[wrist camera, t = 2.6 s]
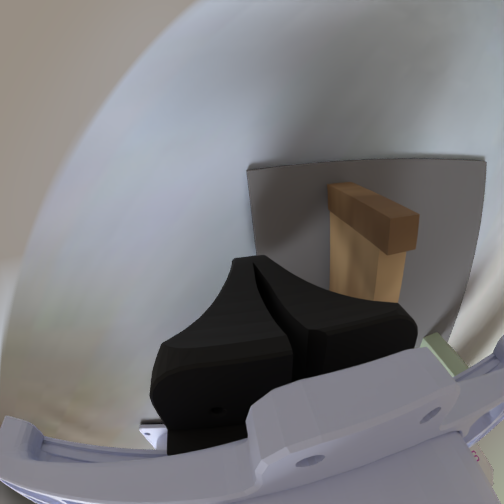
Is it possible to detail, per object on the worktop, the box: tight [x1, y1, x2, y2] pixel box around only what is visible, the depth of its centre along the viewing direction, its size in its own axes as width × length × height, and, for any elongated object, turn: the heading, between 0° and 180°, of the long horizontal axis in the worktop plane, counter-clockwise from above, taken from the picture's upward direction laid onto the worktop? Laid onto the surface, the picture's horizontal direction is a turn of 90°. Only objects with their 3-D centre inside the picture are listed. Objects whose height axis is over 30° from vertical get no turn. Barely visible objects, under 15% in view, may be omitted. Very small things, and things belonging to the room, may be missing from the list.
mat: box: [247, 159, 487, 348], centre depth 16 cm, size 16×16×1 cm
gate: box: [327, 182, 420, 303], centre depth 12 cm, size 10×1×5 cm, turn 7°
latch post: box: [420, 332, 469, 377], centre depth 16 cm, size 2×2×6 cm
